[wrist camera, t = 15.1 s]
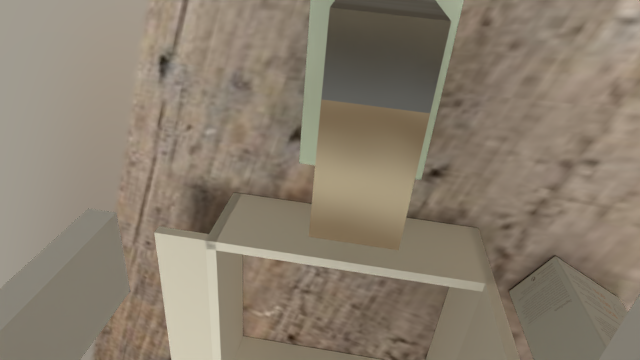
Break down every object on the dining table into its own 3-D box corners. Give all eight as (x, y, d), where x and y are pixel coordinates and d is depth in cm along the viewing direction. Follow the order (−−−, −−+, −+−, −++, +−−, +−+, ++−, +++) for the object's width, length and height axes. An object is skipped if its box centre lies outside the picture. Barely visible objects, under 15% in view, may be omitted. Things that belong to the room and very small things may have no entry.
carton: (429, 372, 47) (447, 555, 33) (201, 333, 49) (129, 492, 35) (478, 228, 37) (534, 402, 23) (190, 186, 39) (82, 325, 25)
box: (394, 153, 34) (398, 250, 24) (331, 145, 34) (308, 236, 24) (426, -12, 28) (451, 21, 17) (349, -20, 28) (329, 7, 18)
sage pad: (420, 176, 35) (421, 180, 35) (300, 159, 36) (299, 163, 35) (472, -43, 27) (474, -42, 27) (315, -59, 28) (314, -59, 27)
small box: (506, 289, 40) (543, 394, 31) (555, 252, 37) (610, 355, 28) (569, 329, 41) (621, 441, 32) (620, 297, 39) (693, 408, 30)
